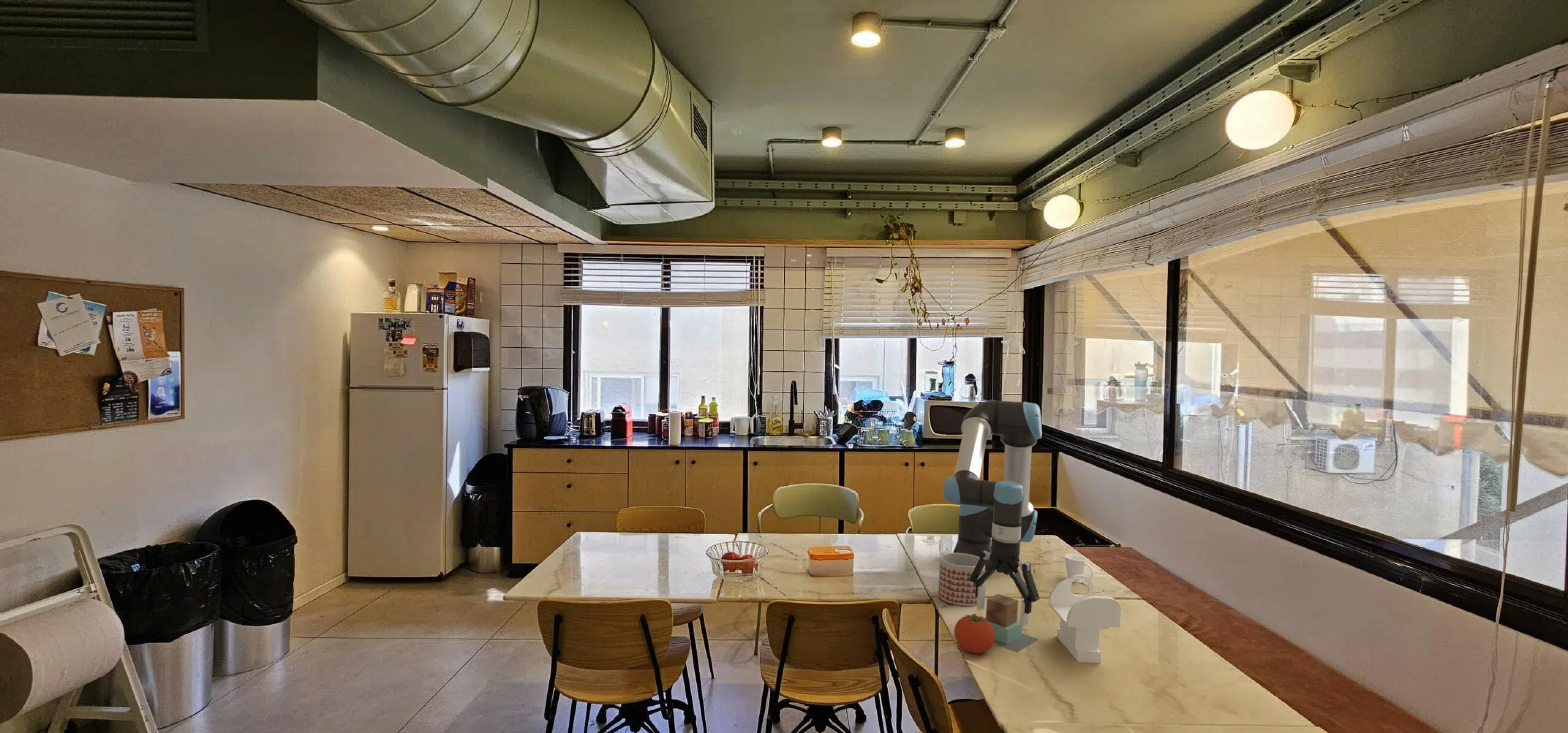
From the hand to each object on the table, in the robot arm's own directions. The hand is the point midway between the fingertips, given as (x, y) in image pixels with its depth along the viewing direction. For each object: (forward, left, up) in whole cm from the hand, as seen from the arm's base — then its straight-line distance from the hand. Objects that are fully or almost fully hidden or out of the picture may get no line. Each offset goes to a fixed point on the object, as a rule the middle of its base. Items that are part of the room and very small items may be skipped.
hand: (1001, 616), depth 185 cm
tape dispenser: (+18, +10, -6) cm, 21 cm away
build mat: (0, 0, -6) cm, 6 cm away
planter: (-22, +15, -6) cm, 27 cm away
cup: (-5, +62, -6) cm, 62 cm away
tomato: (0, -14, -6) cm, 15 cm away
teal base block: (0, 0, -5) cm, 5 cm away
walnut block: (0, 0, -1) cm, 1 cm away
